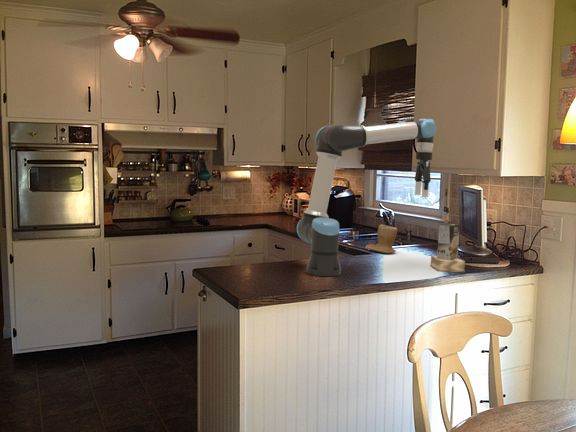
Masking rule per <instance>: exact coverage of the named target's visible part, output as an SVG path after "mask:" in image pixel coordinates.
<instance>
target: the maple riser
mask: <svg viewBox="0 0 576 432" xmlns="http://www.w3.org/2000/svg"><path fill="white" fill-rule="evenodd" d="M465 264H466V261H465V260H463V259H461V258H460V257H459V256H457V258H456V259H452V260H445V259H439V258H437V255H431V256H430V264H429V267H431V268H432V269H434V270H435V271H437V272H440V273H441V272H443V273H445V272H446V273H447V272H448V273H465V272H466V271H465V267H466V265H465Z"/></svg>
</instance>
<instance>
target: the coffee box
mask: <svg viewBox="0 0 576 432" xmlns="http://www.w3.org/2000/svg"><path fill="white" fill-rule="evenodd" d="M460 228H461V224H458V223H440V224H439V227H438V238H437V251H436V253H437V255H436V256H437V258H439V259H445V260H452V259H456V258H457V257H458V254H459V239H460Z"/></svg>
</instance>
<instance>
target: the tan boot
mask: <svg viewBox="0 0 576 432" xmlns="http://www.w3.org/2000/svg"><path fill="white" fill-rule="evenodd" d="M397 234H398V228H397V227H394V226H389V225H385V224H379V225H378V228H377V243H376V244H374V243H370V244H367V245H366V246H365V249H367V250H370V251H373V252H377V253H381V254H382V253H383V254H394V253H396V250H395V249H394V248H393V244H394V242H395V240H396V238H397Z"/></svg>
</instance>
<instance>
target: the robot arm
mask: <svg viewBox="0 0 576 432" xmlns="http://www.w3.org/2000/svg"><path fill="white" fill-rule="evenodd" d="M436 125H437V124H435V120H434V119H432V118H420V119H418V120H417V121H398V122H397V123H389V124H388V123H387V124H379V125H368V126H365V125H363V124H355V125H354V124H352V125H351V124H328V125H325V126H323V127H320V128H319V129H318V131H317V133H316V135H315V139H314V142H315V145H316V151H315V152H316V153H315V154H316V155H317V157H318V158H317V163H316V168H315V172H314V177H313V182H312V187H311V193H310V195H309V196H310V197H309V202H308V207H307V208H306V209H305V210H304V211H303V213H302V218H301V219H300V220H299V221H298V222H297V225H296V233H297V235H298V237H299V238H300V239H301V240H302V242H305V244H310V256H309V259H308V261H307V263H306V267H305V273H306V274H308V275H310V276H316V277H337V276H341V274H342V266H341V262H340V259H339V245H340V244H339V243H340V242H339V240H340V231H341V230H340V223H339V221H338V220H336V219H334V218H329V217H330V216H329V215H328V213H327V211H328V207H329V201H330V197H331V192H332V187H333V182H334V177H335V173H336V168H337V163H338V161H339V160H340V159H342V156H343V152H345V151H346V152H347V151H349V150H354V149H358V148H364V147H365V146H366V145H370V144H371V145H373V144H381V143H391V142H396V141H397V142H398V141H405V140H406V141H407V140H414V139H416V151H417V152H415V160H418V161H417V162H416V163H417V165H416V171H415V175H414V181H415V186H414V195H415V196H421V197H422V198H429V189H430V188H429V187H430V183H431V182H432V181H431V179H432V178H431V162H430V161H432V159H433V153H432V152H433V151H434V150H433V148H434V147H435V145H434V138H435V137H434V136H435V134H436V132H437V126H436Z"/></svg>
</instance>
